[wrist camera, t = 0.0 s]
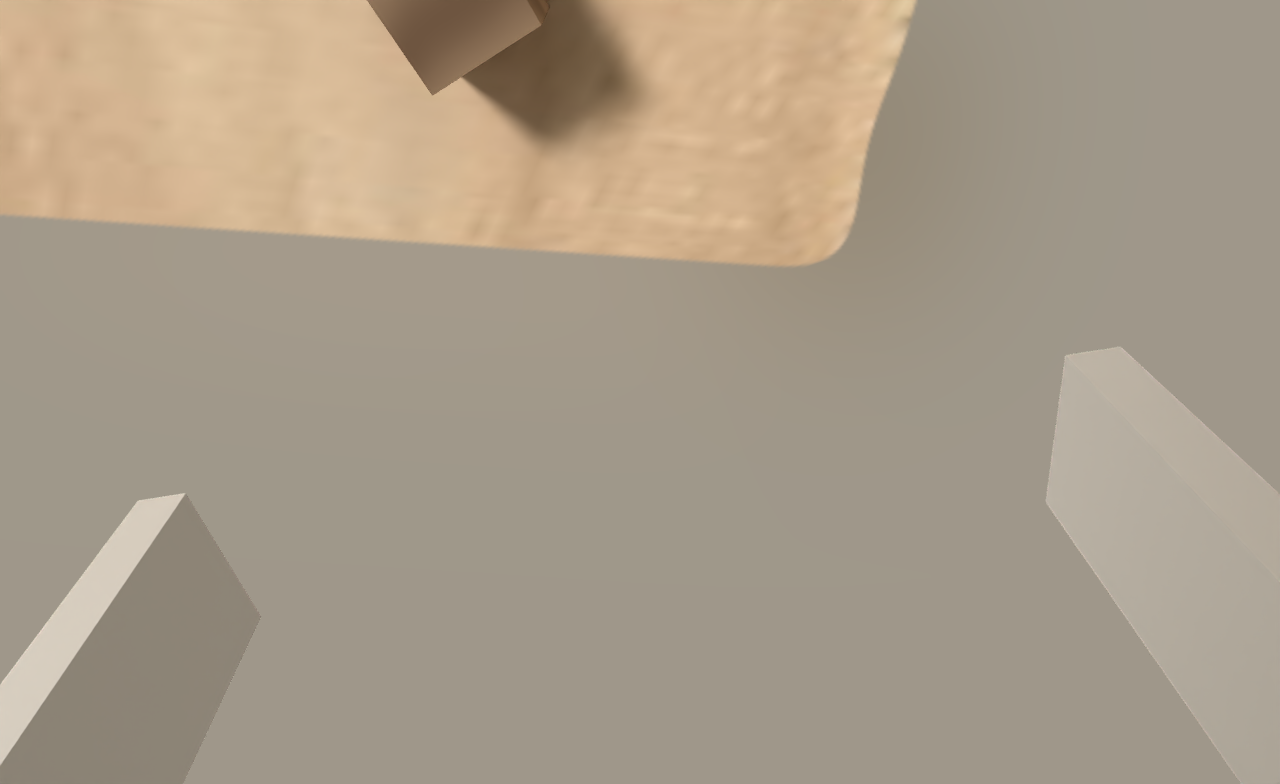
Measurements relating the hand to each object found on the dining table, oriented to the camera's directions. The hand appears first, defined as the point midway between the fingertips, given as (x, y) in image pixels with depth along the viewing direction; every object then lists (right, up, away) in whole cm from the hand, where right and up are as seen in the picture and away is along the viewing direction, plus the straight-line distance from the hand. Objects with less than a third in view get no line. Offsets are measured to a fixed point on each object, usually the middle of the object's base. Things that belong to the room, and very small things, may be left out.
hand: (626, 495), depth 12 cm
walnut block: (-7, +19, +21) cm, 29 cm away
